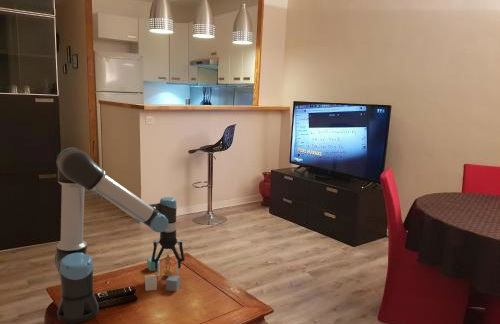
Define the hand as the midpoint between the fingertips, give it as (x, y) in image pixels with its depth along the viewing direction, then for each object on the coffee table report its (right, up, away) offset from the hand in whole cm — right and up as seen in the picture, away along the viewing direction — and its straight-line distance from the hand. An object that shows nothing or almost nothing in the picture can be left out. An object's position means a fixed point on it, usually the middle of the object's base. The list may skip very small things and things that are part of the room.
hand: (168, 274), depth 192 cm
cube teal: (-9, 0, +9) cm, 13 cm away
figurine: (0, -1, 0) cm, 1 cm away
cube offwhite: (-6, -3, -10) cm, 12 cm away
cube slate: (+4, -3, -10) cm, 11 cm away
